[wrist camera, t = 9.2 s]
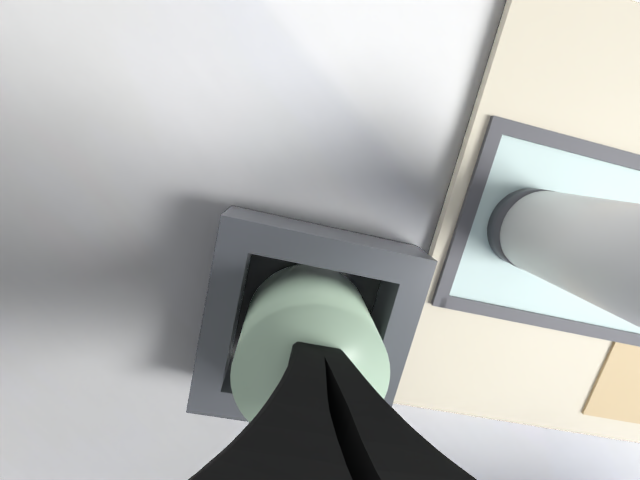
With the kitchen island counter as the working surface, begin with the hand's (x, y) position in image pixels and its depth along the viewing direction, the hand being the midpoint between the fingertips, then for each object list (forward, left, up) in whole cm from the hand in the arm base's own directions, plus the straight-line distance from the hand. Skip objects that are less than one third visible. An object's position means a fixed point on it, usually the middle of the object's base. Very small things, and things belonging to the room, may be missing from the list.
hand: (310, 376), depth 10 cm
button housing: (0, 0, -4) cm, 4 cm away
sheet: (+5, -11, -4) cm, 13 cm away
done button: (0, 0, -3) cm, 3 cm away
